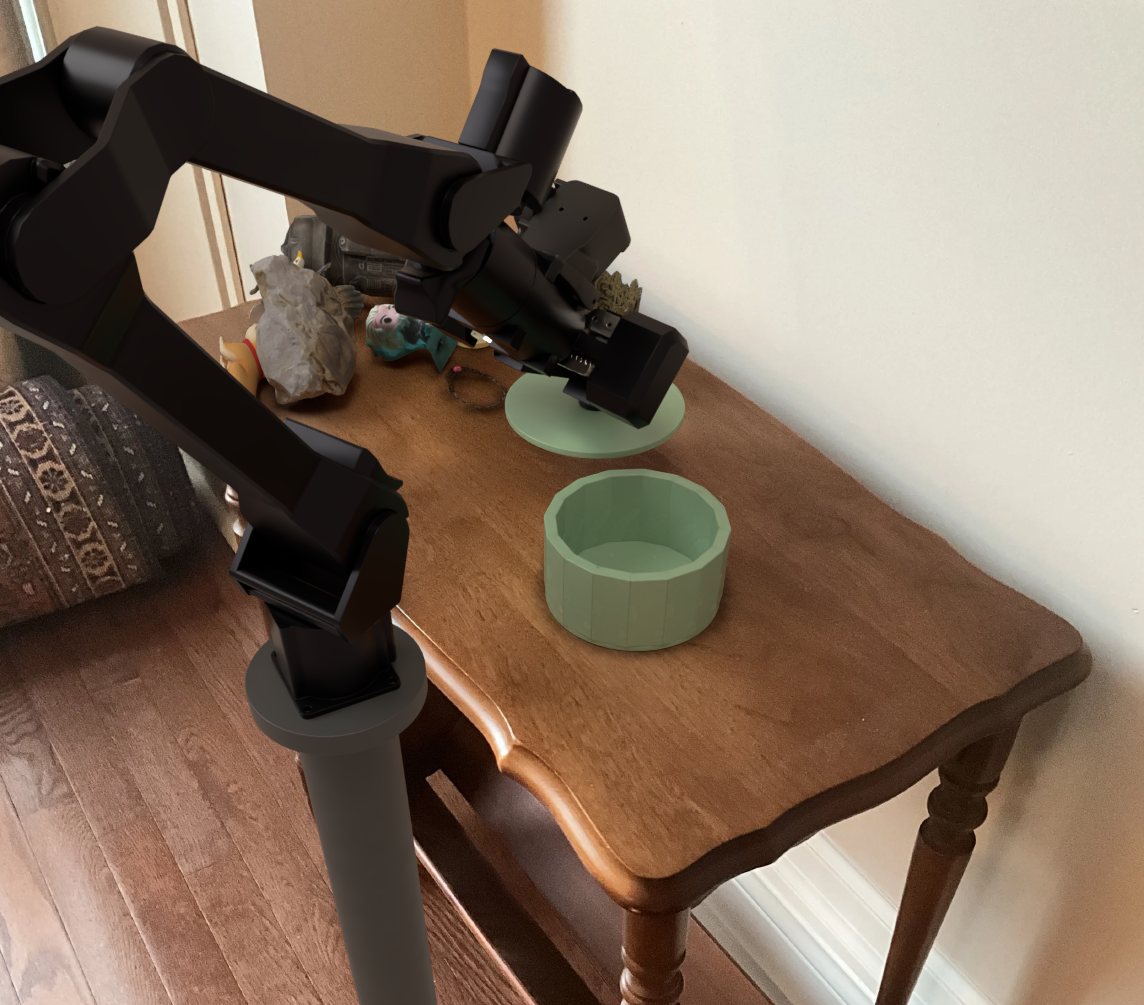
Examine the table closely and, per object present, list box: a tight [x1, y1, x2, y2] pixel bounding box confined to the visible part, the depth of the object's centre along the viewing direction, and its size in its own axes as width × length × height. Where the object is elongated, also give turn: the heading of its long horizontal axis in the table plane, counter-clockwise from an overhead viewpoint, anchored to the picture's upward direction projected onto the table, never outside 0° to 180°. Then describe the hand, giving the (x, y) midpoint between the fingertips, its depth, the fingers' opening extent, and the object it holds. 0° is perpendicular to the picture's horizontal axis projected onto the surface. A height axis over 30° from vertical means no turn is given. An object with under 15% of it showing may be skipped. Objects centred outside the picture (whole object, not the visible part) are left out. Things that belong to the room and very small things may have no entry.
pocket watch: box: [457, 330, 490, 350], centre depth 104 cm, size 6×4×1 cm, turn 14°
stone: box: [249, 254, 358, 405], centre depth 94 cm, size 11×7×10 cm
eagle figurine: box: [247, 251, 365, 327], centre depth 102 cm, size 8×7×9 cm
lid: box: [504, 330, 686, 460], centre depth 83 cm, size 13×13×6 cm
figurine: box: [364, 303, 459, 373], centre depth 97 cm, size 12×9×8 cm
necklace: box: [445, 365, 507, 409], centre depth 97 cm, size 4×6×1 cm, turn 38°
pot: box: [543, 468, 732, 652], centre depth 78 cm, size 12×12×6 cm
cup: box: [584, 269, 643, 331], centre depth 96 cm, size 8×7×8 cm
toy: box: [218, 323, 266, 397], centre depth 95 cm, size 3×17×5 cm
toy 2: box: [280, 214, 406, 299], centre depth 104 cm, size 8×6×15 cm
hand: (608, 380), depth 84 cm, fingers closed on lid, 2 cm apart
